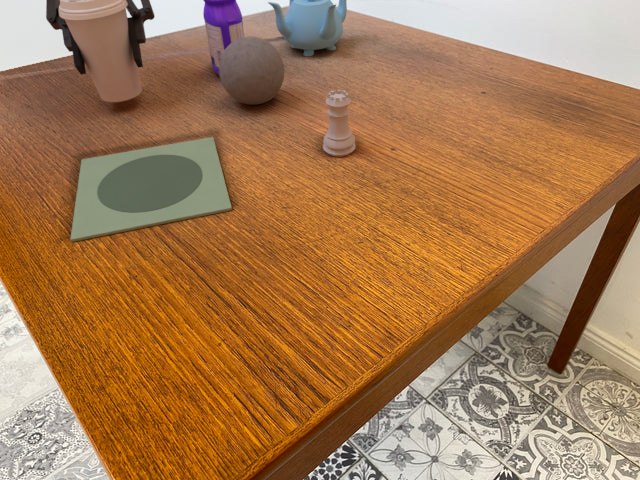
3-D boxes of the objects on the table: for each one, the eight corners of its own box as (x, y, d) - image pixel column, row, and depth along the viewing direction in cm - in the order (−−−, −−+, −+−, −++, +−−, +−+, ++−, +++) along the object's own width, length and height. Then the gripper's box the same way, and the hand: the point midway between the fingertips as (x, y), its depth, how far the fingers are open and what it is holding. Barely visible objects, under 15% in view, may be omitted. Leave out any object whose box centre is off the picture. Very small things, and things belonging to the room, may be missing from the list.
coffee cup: (79, 96, 83) (40, -3, 73) (129, 75, 88) (100, -20, 78) (112, 112, 78) (75, 8, 68) (163, 89, 83) (136, -11, 73)
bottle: (255, 75, 91) (241, -34, 80) (226, 84, 89) (207, -28, 78) (236, 63, 96) (220, -42, 85) (208, 71, 94) (188, -36, 82)
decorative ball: (268, 83, 88) (261, 22, 82) (298, 103, 82) (293, 39, 75) (214, 99, 84) (202, 37, 78) (242, 122, 78) (232, 56, 71)
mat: (82, 161, 71) (81, 158, 70) (213, 139, 74) (213, 136, 74) (71, 242, 57) (69, 239, 57) (232, 210, 61) (231, 207, 60)
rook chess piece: (351, 159, 68) (350, 103, 63) (318, 155, 69) (315, 99, 64) (359, 143, 71) (359, 88, 66) (328, 139, 72) (326, 85, 67)
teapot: (336, 62, 94) (335, 4, 88) (268, 57, 97) (262, 0, 91) (352, 38, 104) (352, -17, 97) (290, 34, 107) (286, -19, 100)
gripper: (3, -90, 73) (25, 64, 72) (151, -101, 76) (175, 46, 75) (26, -55, 81) (47, 85, 79) (160, -66, 84) (183, 69, 82)
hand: (109, 66), depth 77 cm, fingers closed on coffee cup, 8 cm apart
